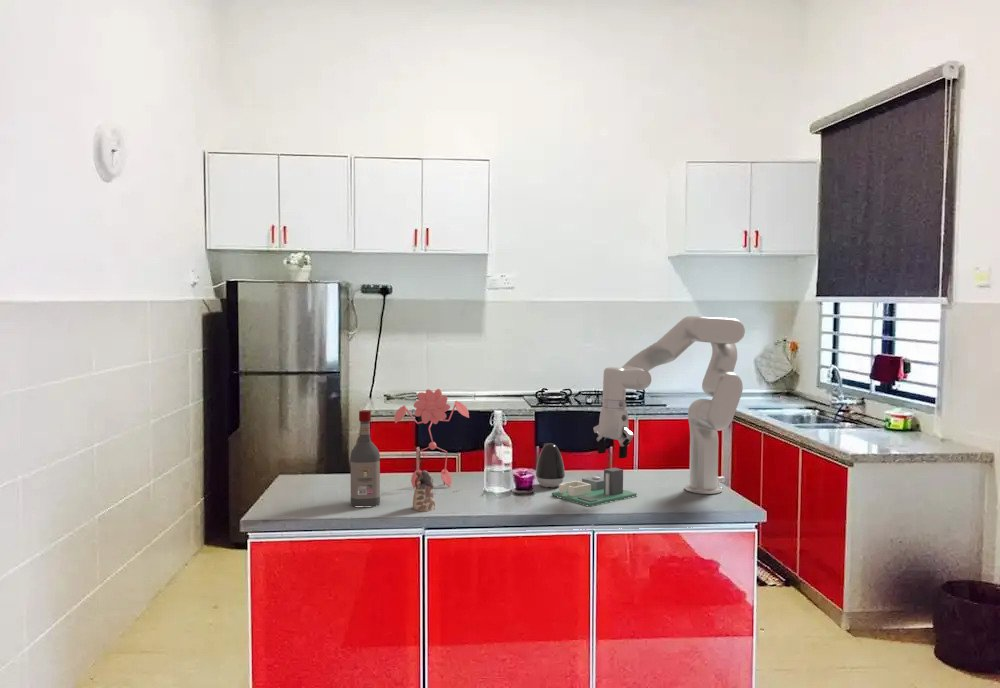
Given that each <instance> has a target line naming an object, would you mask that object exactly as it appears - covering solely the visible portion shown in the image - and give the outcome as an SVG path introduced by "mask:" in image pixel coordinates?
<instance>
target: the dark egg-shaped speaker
mask: <svg viewBox="0 0 1000 688" xmlns="http://www.w3.org/2000/svg"><path fill="white" fill-rule="evenodd" d="M535 469H536V470H535V477H536V481H537V482H538V484H539V485H540V486H542V487H544V488H548V487H554V488H558V487H559V484H561V483H564V482H563V481H564V478H565V476H566V474H565V473H566V472H565V466H564V460H563V456H562V454H561V451H560V450H559V448H558V446H557V445H556V444H555V443H552V442H550V443H547V442H546V443H545V442H544V443H543V447H542V449H541V451H540V453H539V455H538V459H537V464H536V468H535Z"/></svg>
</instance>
